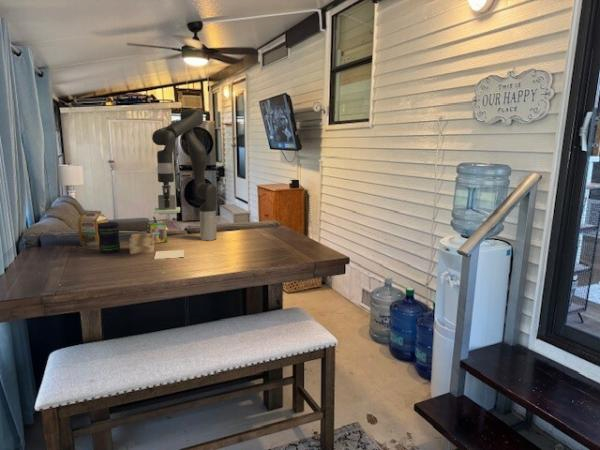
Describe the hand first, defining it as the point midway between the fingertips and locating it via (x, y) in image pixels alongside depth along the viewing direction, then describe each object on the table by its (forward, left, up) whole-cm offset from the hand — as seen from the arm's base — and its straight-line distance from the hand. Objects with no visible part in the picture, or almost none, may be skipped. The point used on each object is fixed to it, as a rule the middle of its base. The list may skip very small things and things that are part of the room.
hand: (167, 206), depth 199 cm
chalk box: (+8, -32, -25) cm, 41 cm away
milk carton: (+41, -33, -25) cm, 58 cm away
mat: (0, 0, -25) cm, 25 cm away
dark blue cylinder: (+30, -13, -25) cm, 41 cm away
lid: (0, 0, -2) cm, 2 cm away
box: (+14, -11, -25) cm, 31 cm away
